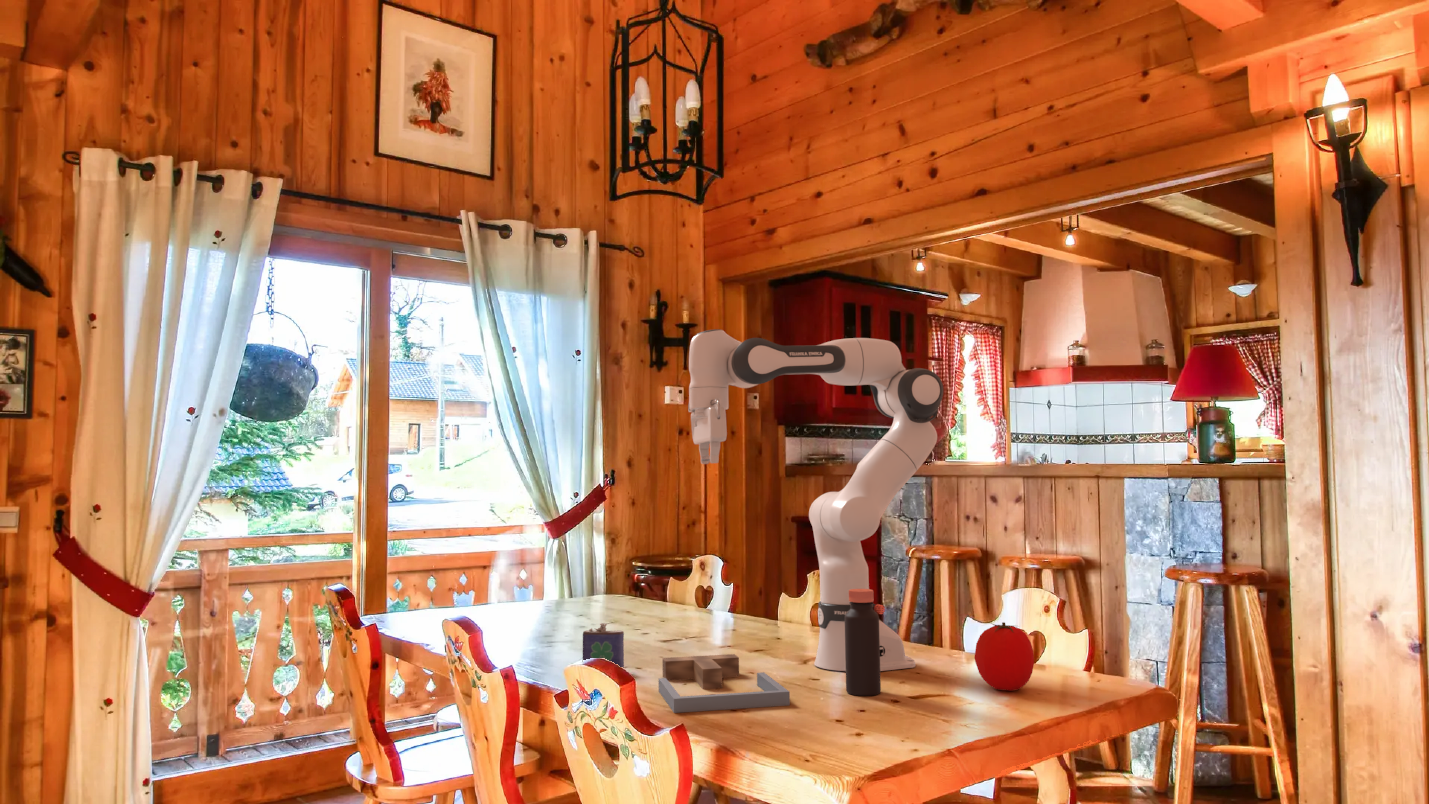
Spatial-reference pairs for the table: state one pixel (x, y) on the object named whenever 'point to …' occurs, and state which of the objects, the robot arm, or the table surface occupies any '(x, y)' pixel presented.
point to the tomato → (1004, 657)
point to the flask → (604, 644)
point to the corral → (727, 697)
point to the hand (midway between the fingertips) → (709, 463)
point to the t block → (702, 669)
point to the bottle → (862, 645)
